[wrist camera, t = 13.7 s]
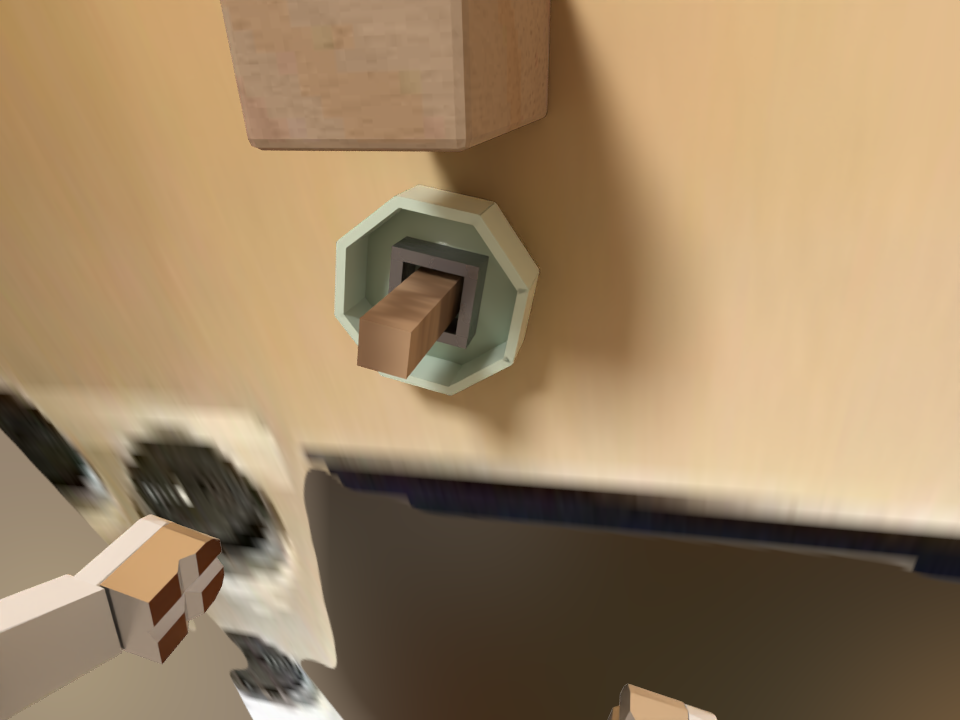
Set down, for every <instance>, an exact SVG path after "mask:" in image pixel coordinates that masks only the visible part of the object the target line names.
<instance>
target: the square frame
mask: <svg viewBox="0 0 960 720" xmlns="http://www.w3.org/2000/svg"><path fill="white" fill-rule="evenodd" d="M488 260H489V256H486V255H482V254H478V253H474V252H470V251H466V250H462V249H457V248H453V247H449V246H445V245H441V244H437V243H433V242H429V241H425V240H421V239H416V238H412V237H408V236H406V237H405V238H403V239H402V240H400V241H399V242H397V243H396V244H394V245H393V246H392V252H391V264H390V277H389V289H388V294H389V293H390V292H391V291H392V290H394V289H395V288H396V287H397V286H398V285H400V284H401V283H402V282H403V281H404V280H405V279H407V278H408V277H409V276H410V275H411V274H413V273H414V272H415V265H419V266H423V267H427V268H431V269H435V270H439V271H443V272H447V273H451V274H455V275H459V276H463V277H465V278H464V284H463V291H462V297H461V304H460V310H459V317H458V318H454V319H453V321H452V322H451V323H450V324H449V326H448V327H447V328H446V330H445V331H444V332H443V333H442V335H441V336H440V337H439V338H438V340H437V341H438V342H442V343H445V344H449V345H453V346H456V347H460V348H464V349H466V348H467V346H468V345H469V343H470V342H471V340H472V339H473V337H474V336H475V334H476V329H477V324H478V318H479V312H480V306H481V300H482V295H483V289H484V283H485V277H486V272H487V266H488Z"/></svg>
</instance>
